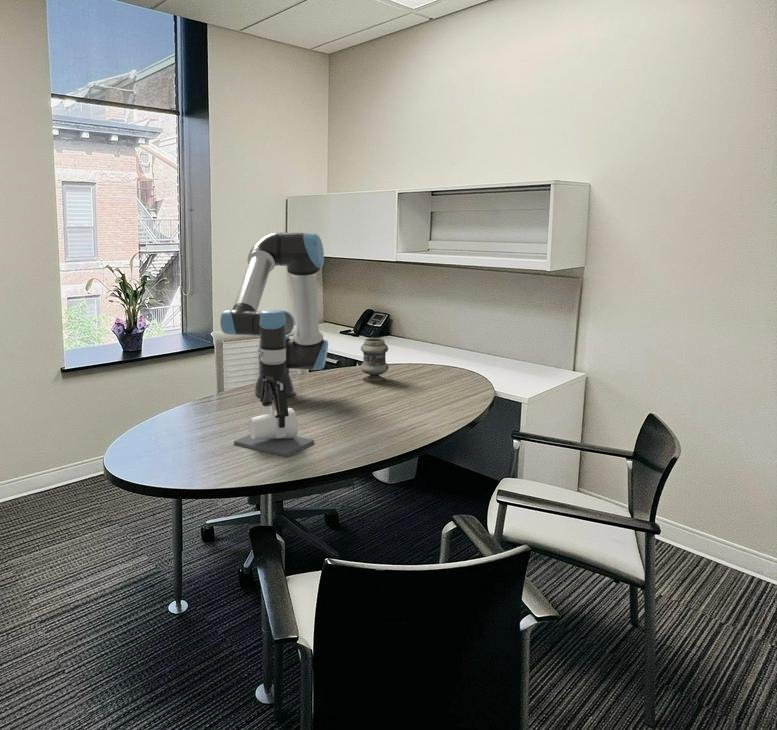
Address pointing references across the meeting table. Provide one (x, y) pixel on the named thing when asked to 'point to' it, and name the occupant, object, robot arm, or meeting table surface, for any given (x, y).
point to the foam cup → (272, 426)
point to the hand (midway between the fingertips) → (274, 431)
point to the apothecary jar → (374, 359)
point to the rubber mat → (275, 444)
